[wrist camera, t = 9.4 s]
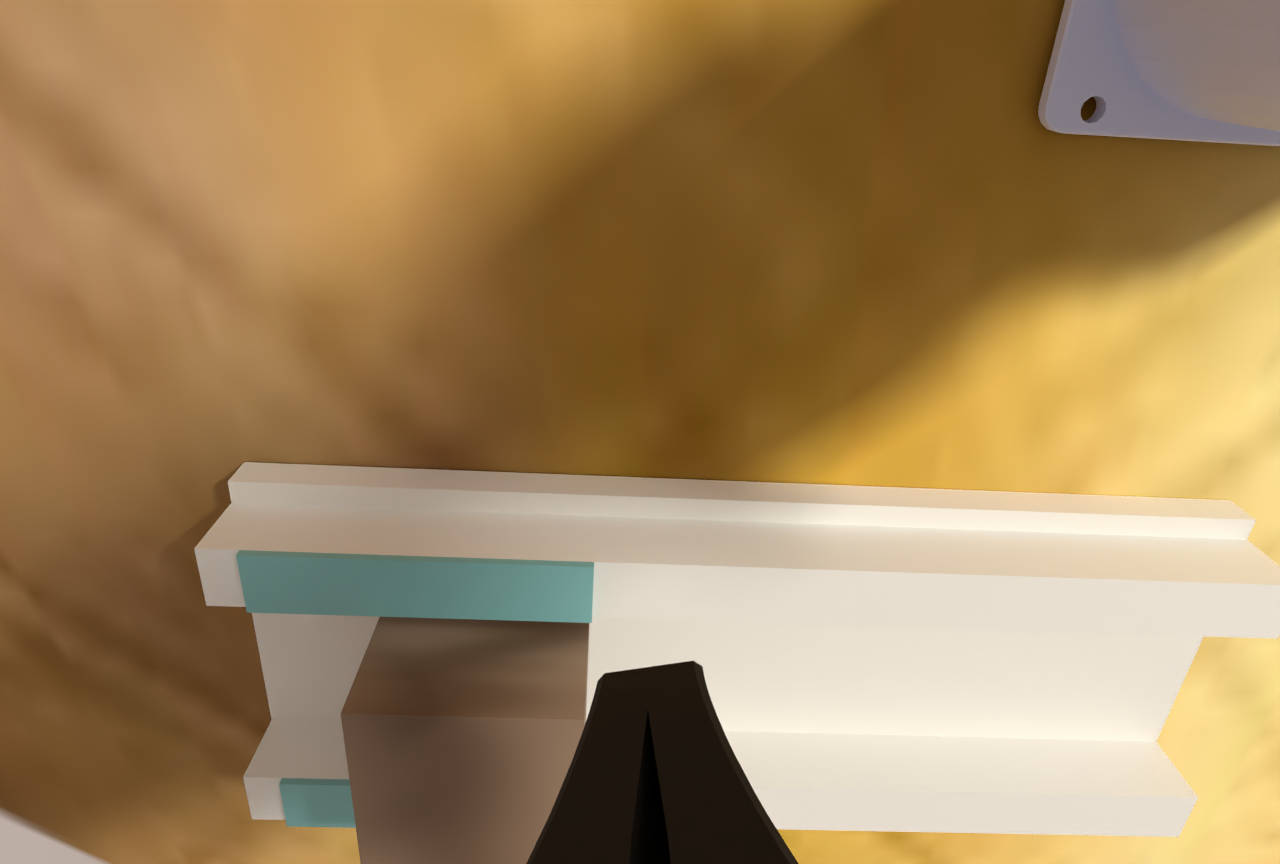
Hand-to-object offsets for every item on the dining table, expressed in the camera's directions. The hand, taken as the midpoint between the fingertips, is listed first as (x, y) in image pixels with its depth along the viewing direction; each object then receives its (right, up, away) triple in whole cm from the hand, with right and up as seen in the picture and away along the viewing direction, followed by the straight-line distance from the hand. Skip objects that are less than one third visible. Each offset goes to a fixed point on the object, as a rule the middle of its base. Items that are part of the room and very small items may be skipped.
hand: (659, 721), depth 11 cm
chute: (+2, -2, +13) cm, 13 cm away
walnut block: (-4, -2, +11) cm, 12 cm away
